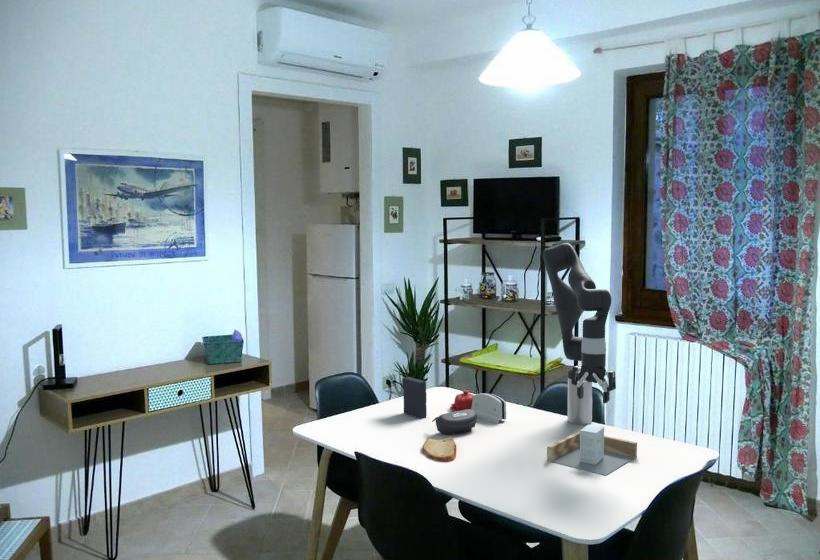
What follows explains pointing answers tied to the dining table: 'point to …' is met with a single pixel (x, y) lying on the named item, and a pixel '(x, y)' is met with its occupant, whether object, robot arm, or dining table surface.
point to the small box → (591, 444)
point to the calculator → (414, 397)
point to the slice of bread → (440, 449)
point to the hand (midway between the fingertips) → (593, 400)
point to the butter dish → (463, 401)
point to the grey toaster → (489, 407)
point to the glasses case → (456, 421)
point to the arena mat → (602, 467)
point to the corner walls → (574, 442)
